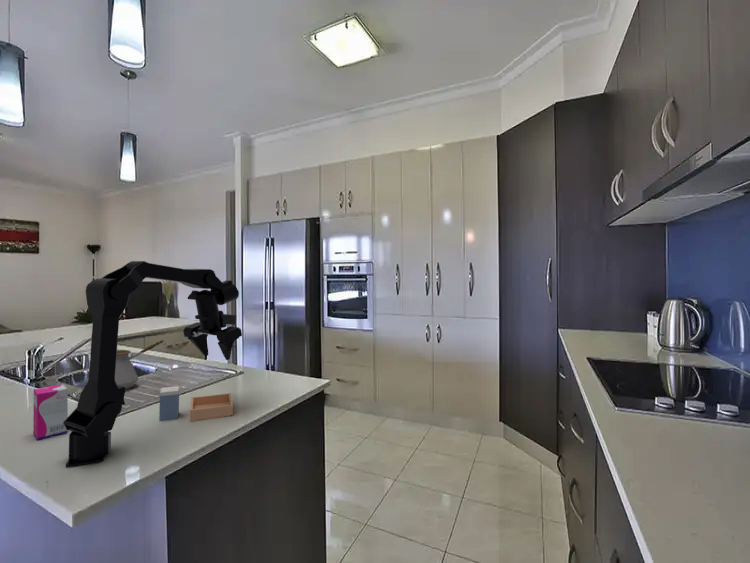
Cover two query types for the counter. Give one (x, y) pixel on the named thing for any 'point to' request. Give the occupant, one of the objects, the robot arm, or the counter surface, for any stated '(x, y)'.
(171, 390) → the block
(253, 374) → the counter surface
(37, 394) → the supplement box
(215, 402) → the bin
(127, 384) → the coffee pot
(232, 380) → the counter surface
